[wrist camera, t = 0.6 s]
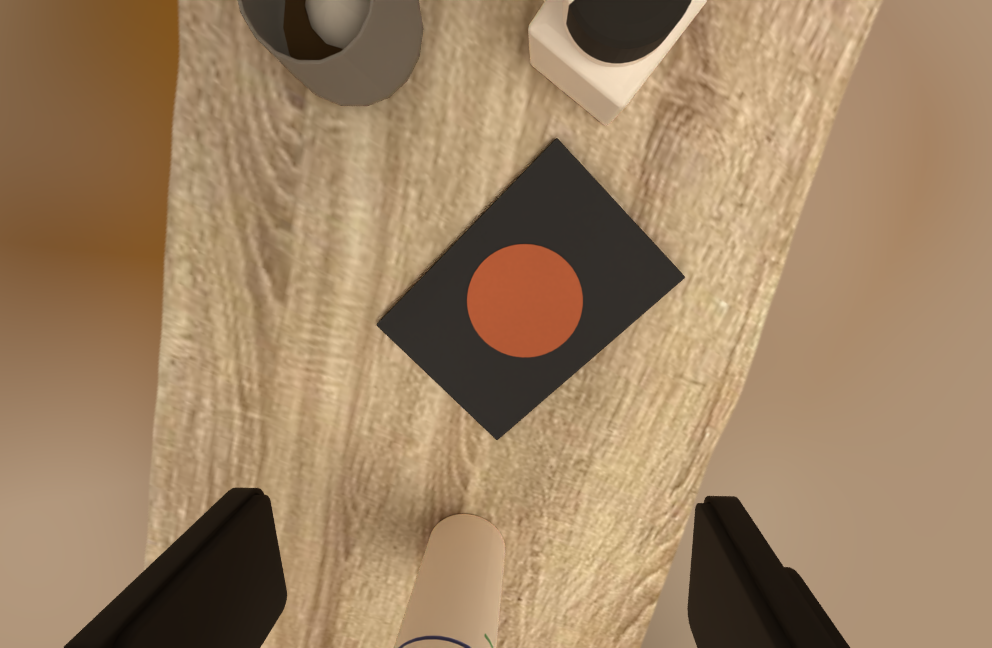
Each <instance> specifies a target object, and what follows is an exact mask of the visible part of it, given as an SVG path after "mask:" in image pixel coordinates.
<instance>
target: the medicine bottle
mask: <svg viewBox="0 0 992 648" xmlns="http://www.w3.org/2000/svg"><path fill="white" fill-rule="evenodd" d="M706 1H707V0H545V2H544V3H543V5H542V6H541V8H540V9H539V11H538V12H537V14H536V15H535V17H534V18H533V20H532V21H531V23H530V24H529V27H528V36H529V53H530V64H531V65H532V66H533V67H534V68H535V69H537V70H538V71H539V72H540V73H541V74H543V75H544V76H545V77H546V78H547V79H549V80H550V81H551V82H552V83H554V84H555V85H556V86H557V87H558V88H560V89H561V90H562V91H563V92H564V93H566V94H567V95H568V96H569V97H571V98H572V99H573V100H574V101H575V102H577V103H578V104H579V105H580V106H581V107H583V108H584V109H585V110H586V111H587V112H589V113H590V114H591V115H592V116H594V117H595V118H596V119H597V120H598V121H600V122H601V123H602V124H603V125H609V124H610V123H611V122H612V121H613V120H614V119H615V118H616V117H617V116H618V115H619V113H620V112H621V111H622V110H623V109H624V108H625V107H626V106H627V105H628V103H629V102H630V101H631V99H632V98H633V97H634V96H635V94H636V93H637V92H638V90H639V89H640V88H641V86H642V85H643V84H644V83H645V81H646V80H647V79H648V77H649V76H650V75H651V73H652V72H653V71H654V70H655V68H656V67H657V66H658V64H659V63H660V62H661V60H662V59H663V58H664V57H665V55H666V54H667V53H668V51H669V50H670V49H671V47H672V46H673V45H674V44H675V42H676V41H677V40H678V38H679V37H680V36H681V34H682V33H683V32H684V31H685V29H686V28H687V27H688V25H689V24H690V23H691V21H692V20H693V19H694V17H695V16H696V15H697V14H698V12H699V11H700V10H701V8H702V7H703V6H704V4H705V3H706Z"/></svg>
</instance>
